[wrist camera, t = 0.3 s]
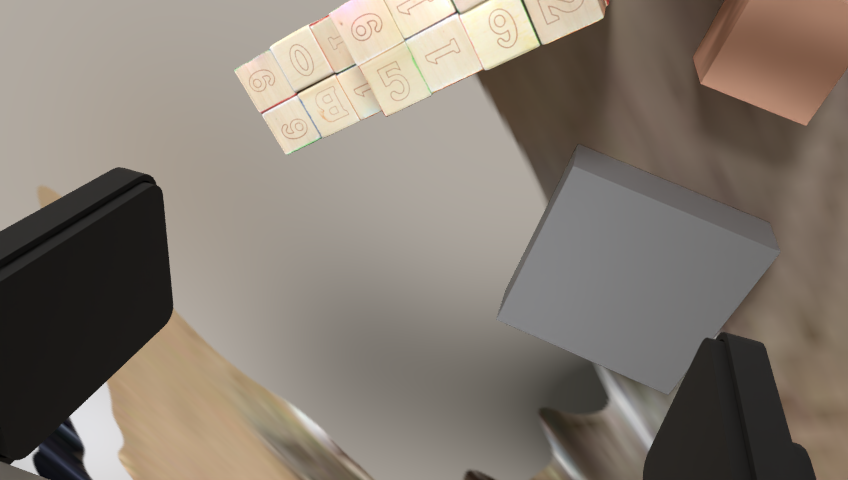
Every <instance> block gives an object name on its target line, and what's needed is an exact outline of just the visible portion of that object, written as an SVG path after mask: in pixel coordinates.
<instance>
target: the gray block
mask: <svg viewBox="0 0 848 480" xmlns="http://www.w3.org/2000/svg"><path fill="white" fill-rule="evenodd" d="M779 254H780V249H779V246H778V244H777V241H776V238H775V236H774V233H773V231H772V228H771V225H770V223H769V222H766V221H764V220H762V219H759V218H757V217H754V216H752V215H749V214H747V213H745V212H742V211H740V210H737V209H735V208H733V207H730V206H728V205H725V204H723V203H720V202H718V201H716V200H713V199H711V198H708V197H706V196H703V195H701V194H699V193H696V192H694V191H691V190H689V189H687V188H684V187H682V186H679V185H677V184H674V183H672V182H670V181H667V180H665V179H662V178H660V177H657V176H655V175H653V174H650V173H648V172H645V171H643V170H640V169H638V168H636V167H633V166H631V165H628V164H626V163H624V162H621V161H619V160H616V159H614V158H611V157H609V156H607V155H604V154H602V153H599V152H597V151H594V150H592V149H590V148H587V147H585V146H582V145H580V144H578V145H577V147H576V149H575V151H574V153H573V155H572V157H571V159H570V161H569V163H568V165H567V167H566V169H565V171H564V173H563V175H562V177H561V179H560V181H559V183H558V185H557V187H556V189H555V191H554V193H553V195H552V197H551V199H550V202H549V204H548V206H547V208H546V210H545V212H544V214H543V216H542V218H541V220H540V222H539V224H538V226H537V228H536V230H535V232H534V234H533V236H532V238H531V240H530V242H529V244H528V246H527V248H526V250H525V252H524V254H523V256H522V258H521V260H520V262H519V264H518V266H517V268H516V270H515V272H514V274H513V276H512V278H511V280H510V282H509V284H508V286H507V288H506V291H505V294H504V297H503V300H502V303H501V306H500V309H499V313H498V316H497V319H496V320H499V321H501V322H503V323H505V324H508V325H510V326H512V327H514V328H517V329H519V330H521V331H524V332H526V333H528V334H530V335H533V336H535V337H537V338H540V339H542V340H544V341H546V342H548V343H551V344H553V345H555V346H558V347H560V348H562V349H565V350H567V351H569V352H571V353H573V354H576V355H578V356H580V357H583V358H585V359H587V360H590V361H592V362H594V363H596V364H598V365H601V366H603V367H605V368H607V369H610V370H612V371H614V372H617V373H619V374H621V375H623V376H626V377H628V378H630V379H632V380H635V381H637V382H639V383H642V384H644V385H646V386H648V387H651V388H653V389H655V390H657V391H660V392H662V393H664V394H667V395H669V393H670V392H671V391H672V390H673V388H674V387H675V386H676V384H677V383H678V382H679V381H680V379H681V378H682V377H683V376H684V374H685V373H686V372H687V370H688V369H689V367H690V365H691V363H692V361H693V359H694V357H695V355H696V352H697V350H698V348H699V346H700V344H701V343H702V341H703V340H704V339H705V338H707V337H708V338H711V339H713V337H714V336H715V335H716V334H717V332H718V331H719V330H720V329H721V327H722V326H723V325H724V323H725V322H726V321H727V320H728V318H729V317H730V316H731V315H732V313H733V312H734V311H735V310H736V308H737V307H738V306H739V304H740V303H741V302H742V301H743V299H744V298H745V297H746V296H747V294H748V293H749V292H750V290H751V289H752V288H753V287H754V285H755V284H756V283H757V282H758V280H759V279H760V278H761V277H762V275H763V274H764V273H765V271H766V270H767V269H768V268H769V266H770V265H771V264H772V263H773V261H774V260H775V259H776V257H777V256H778V255H779Z"/></svg>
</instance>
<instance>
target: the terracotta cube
mask: <svg viewBox="0 0 848 480" xmlns="http://www.w3.org/2000/svg"><path fill="white" fill-rule="evenodd" d="M693 60H694V64H695V67H696V70H697V74H698V77H699V80H700V84H702V85H705V86H707V87H710V88H712V89H715V90H717V91H720V92H722V93H725V94H727V95H730V96H732V97H735V98H737V99H740V100H742V101H745V102H747V103H750V104H752V105H755V106H757V107H760V108H762V109H765V110H767V111H770V112H772V113H775V114H777V115H780V116H782V117H785V118H787V119H790V120H792V121H795V122H797V123H800V124H802V125H805V126H806V125H807V124H808V122H809V121H810V120H811V118H812V117H813V115H814V114H815V113H816V111H817V110H818V108H819V107H820V106H821V104H822V103H823V101H824V100H825V99H826V97H827V96H828V94H829V93H830V92H831V90H832V89H833V87H834V86H835V85H836V83H837V82H838V80H839V79H840V78H841V76H842V75H843V73H844V72H845V71H846V69H847V68H848V0H725V1H724V3H723V4H722V6H721V8H720V10H719V11H718V13H717V15H716V17H715V19H714V20H713V22H712V24H711V26H710V27H709V29H708V31H707V33H706V35H705V36H704V38H703V40H702V42H701V43H700V45H699V47H698V49H697V51H696V52H695V54H694V56H693Z"/></svg>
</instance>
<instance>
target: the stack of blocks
mask: <svg viewBox="0 0 848 480" xmlns="http://www.w3.org/2000/svg"><path fill="white" fill-rule="evenodd" d="M608 5H609V0H349V1H348V2H346V3H344V4H343V5H342V6H340V7H338V8H337V9H335V10H333V11H331V12H330V13H329V14H328V16H326V17H324V18H322V19H320V20H318V21H315V22H313V23H310V24H308V25H306V26H305V27H303V28H301V29H299V30H297V31H295V32H294V33H292V34H290V35H288V36H287V37H285V38H283V39H281V40H280V41H278V42H276V43H275V44H273V45H271V46H270V49H269V50H267V51H266V52H264V53H262V54H260V55H259V56H257V57H255V58H254V59H252V60H250V61H248V62H247V63H245V64H243V65H241V66H240V67H238V68H236V69H235V70H234V71H235V73H236V75H237V76H238V78H239V79H240V81H241V83H242V85H243V86H244V88H245V89H246V91H247V93H248V94H249V96H250V97H251V100H252V101H253V103H254V104H255V106H256V108H257V110H258V111H259V112H260V113H262V116H263V118H264V119H265V121H266V123H267V125H268V126H269V128H270V129H271V131H272V133H273V134H274V136H275V137H276V139H277V141H278V143H279V144H280V146H281V147H282V149H283V151H284V152H285V154H290V153H292V152H294V151H297V150H298V149H301V148H303V147H305V146H307V145H309V144H311V143H313V142H315V141H317V140H319V139H321V138H325V137H328V136H330V135H332V134H334V133H336V132H338V131H340V130H342V129H344V128H346V127H349V126H350V125H353V124H355V123H357V122H359V121H360V120H363V119H366V118H368V117H370V116H372V115H374V114H376V113H378V112H380V111H383V113H384V115H385V116H389V115H392V114H394V113H396V112H398V111H400V110H402V109H404V108H406V107H409V106H411V105H413V104H415V103H417V102H419V101H421V100H423V99H425V98H427V97H430V96H431V95H432V94H433V93H434V92H436V91H439V90H441V89H443V88H445V87H447V86H449V85H451V84H454V83H456V82H458V81H460V80H462V79H464V78H467V77H469V76H471V75H473V74H475V73H477V72H479V71H481V70H490V69H492V68H494V67H496V66H498V65H501V64H503V63H505V62H507V61H509V60H511V59H513V58H515V57H518V56H520V55H522V54H524V53H527V52H529V51H531V50H533V49H536V48H537V47H539V46H540V45H545V44H549V43H551V42H553V41H555V40H557V39H560V38H562V37H564V36H566V35H569V34H571V33H573V32H576V31H578V30H580V29H582V28H585V27H587V26H589V25H591V24H593V23H596V22H598V21H600V20H601V19H603V18H604V14H605V7H606V6H608Z"/></svg>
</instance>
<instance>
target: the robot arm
mask: <svg viewBox="0 0 848 480" xmlns="http://www.w3.org/2000/svg"><path fill="white" fill-rule="evenodd" d="M172 311H173V298H172V287H171V276H170V265H169V255H168V244H167V234H166V223H165V212H164V201H163V193H162V190H161V188H160V187H159V186H157V185H156V182H155V180H154V179H153V177H151V176H150V175H147V174H144V173H140V172H136V171H132V170H129V169H125V168H120V167H118V168H115V169H112V170H110V171H109V172H107V173H105V174H104V175H101V176H99V177H98V178H96V179H94V180H92V181H91V182H89V183H87V184H85V185H83V186H81V187H80V188H78V189H76V190H74V191H72V192H71V193H69V194H67V195H65V196H63V197H62V198H60V199H58V200H56V201H54V202H53V203H51V204H49V205H47V206H45V207H44V208H42V209H40V210H38V211H36V212H35V213H33V214H31V215H29V216H27V217H26V218H24V219H22V220H20V221H18V222H17V223H15V224H13V225H11V226H9V227H8V228H6V229H4V230H2V231H0V480H49V479H46V478H44V477H41V476H38V475H35V474H33V473H30V472H27V471H25V470H22V469H19V468H16V467H14V466H11V465H10V464H11V463H12V462H13V461H14V460H20V459H23V458H25V457H26V456H28V455H29V454H30V453H31V452H32V451H33V450H35V449H36V448H37V447H38V446H39V445H40V444H41V443H42V442H43V441H44V440H45V439H46V438H47V437H48V436H49V435H50V434H51V433H52V432H53V431H55V430H56V429H57V428H58V427H59V426H60V425H61V424H62V423H63V422H64V421H65V420H66V419H67V418H68V417H69V416H70V415H71V414H72V413H73V412H74V411H75V410H77V408H79V407H80V406H81V405H82V404H83V403H84V402H85V401H86V400H87V399H88V398H89V397H90V396H91V395H92V394H93V393H94V392H96V391H97V390H98V389H99V388H100V387H101V386H102V385H103V384H104V383H105V382H106V381H107V380H108V379H109V378H110V377H111V376H112V375H113V374H114V373H116V372H117V371H118V370H119V369H120V368H121V367H122V366H123V365H124V364H125V363H126V362H127V361H128V360H129V359H130V358H131V357H132V356H133V355H134V354H136V353H137V352H138V351H139V350H140V349H141V348H142V347H143V346H144V345H145V344H146V343H147V342H148V341H149V340H150V339H151V338H152V337H153V336H154V335H156V334H157V333H158V332H159V331H160V330H161V329H162V328H163V327H164V326H165V325H166V324H167V322H168V321H169V319H170V317H171V315H172ZM643 480H816V477H815V473H814V470H813V467H812V464H811V460H810V458H809V456H808V453H807V451H806V449H804V448H803V447H802V446H801V445H800V444H797V443H793V442H792V439H791V436H790V432H789V429H788V425H787V422H786V418H785V415H784V411H783V408H782V404H781V401H780V397H779V394H778V390H777V387H776V383H775V380H774V376H773V372H772V369H771V365H770V362H769V358H768V355H767V351H766V348H765V346H764V344H763V343H761V342H758V341H754V340H751V339H747V338H743V337H740V336H736V335H733V334H729V333H725V332H723V333H720V334H719V335H718V336H717V338H716V340H715V339H711V338H708V337H707V338H705V339H704V340H703V341H702V343H701V344H700V346H699V348H698V350H697V352H696V355H695V357H694V359H693V361H692V363H691V365H690V367H689V369H688V371H687V373H686V375H685V377H684V379H683V381H682V383H681V386H680V388H679V390H678V392H677V394H676V396H675V398H674V400H673V402H672V404H671V406H670V408H669V410H668V412H667V415H666V417H665V419H664V421H663V423H662V425H661V427H660V429H659V431H658V433H657V435H656V437H655V439H654V441H653V444H652V446H651V448H650V450H649V452H648V454H647V457H646V460H645V464H644V470H643Z"/></svg>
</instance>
